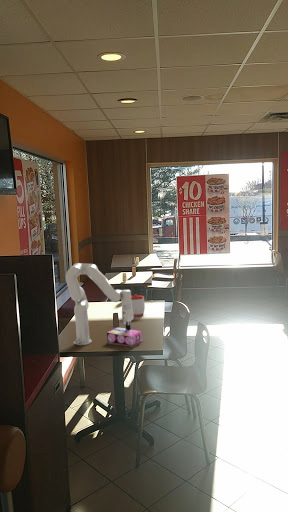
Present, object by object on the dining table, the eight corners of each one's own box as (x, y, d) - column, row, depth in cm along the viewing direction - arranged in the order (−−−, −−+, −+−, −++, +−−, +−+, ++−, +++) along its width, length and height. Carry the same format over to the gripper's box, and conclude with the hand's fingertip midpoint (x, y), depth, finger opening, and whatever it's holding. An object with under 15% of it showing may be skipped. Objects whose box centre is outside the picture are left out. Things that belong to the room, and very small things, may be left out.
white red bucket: (144, 311, 405) (142, 291, 402) (146, 316, 388) (145, 295, 385) (127, 313, 403) (126, 292, 400) (129, 318, 386) (127, 296, 383)
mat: (133, 347, 311) (133, 346, 311) (107, 343, 322) (107, 342, 322) (143, 340, 324) (143, 340, 324) (118, 337, 335) (118, 336, 335)
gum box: (142, 331, 320) (132, 336, 309) (143, 341, 321) (132, 347, 310) (117, 326, 334) (106, 332, 323) (118, 336, 335) (107, 342, 324)
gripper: (125, 309, 315) (127, 333, 318) (136, 304, 328) (137, 327, 331) (117, 308, 319) (118, 332, 321) (127, 303, 332) (129, 326, 334)
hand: (128, 329), depth 326 cm, fingers closed
